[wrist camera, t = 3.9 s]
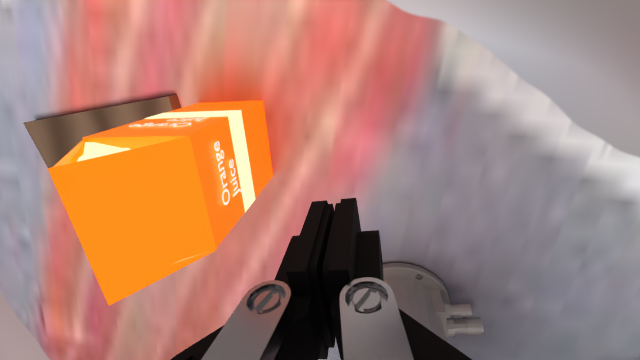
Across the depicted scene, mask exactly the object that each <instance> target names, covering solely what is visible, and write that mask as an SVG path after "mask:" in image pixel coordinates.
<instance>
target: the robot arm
mask: <svg viewBox="0 0 640 360" xmlns="http://www.w3.org/2000/svg"><path fill="white" fill-rule="evenodd" d="M452 316H472V309H471V305H470V304H450V299H449V295H448V293H447V290H446V288H445V286H444V285H443V283H442V282H441V281H440V280H439V279H438V278H437V277H436V276H435V275H434V274H432V273H431V272H429V271H428V270H426V269H423V268H421V267H419V266H415V265H411V264H405V263H388V264H383V263H382V253H381V244H380V236H379V230H378V231H363V232H361V228H360V221H359V214H358V207H357V201H356V198H350V199H341V203H336V206H335V210H334V208H333V204H328V202H327V201H316V202H312V203H311V206H310V209H309V211H308V214H307V217H306V220H305V222H304V225H303V228H302V230H301V233H300V236H293V237H292V238H291V241H290V243H289V246H288V248H287V250H286V253H285V255H284V258H283V260H282V263H281V265H280V268H279V270H278V273H277V275H276V278H275V280H270V281H266V282H262V283H260V284H258V285H256V286H254V287H253V288H252V289H250V290H249V291H248V292H247V294H246V295H245V296H244V297H243V299H242V300H241V302H240V303H239V305H238V306H237V308H236V309H235V311H234V312H233V314H232V315H231V316H230V318H229V319H228V321H227V322H226V324H225V325H224V326H222V327H220V328H219V329H217V330H216V331H214V332H213V333H211V334H209V335H208V336H206V337H205V338H203V339H201V340H200V341H198V342H197V343H195V344H193V345H192V346H190V347H189V348H187V349H185V350H184V351H182V352H181V353H179V354H178V355H176V356H175V357H174V358H172V359H171V360H318V359H327V356H328V349H329V347H334V345H335V337H336V340H337V345H338V349H339V354H340V358H341V360H471V359H470V358H469V357H467V356H466V355H464V354H463V353H462V352H460V351H459V350H457V349H456V348H454V347H453V346H452V345H450V344H449V343H448V342H447V337H455V334H467V335H483V334H484V329H483V324H482V321H481V318H480V317H463V318H452Z"/></svg>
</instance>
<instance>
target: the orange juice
mask: <svg viewBox="0 0 640 360" xmlns="http://www.w3.org/2000/svg"><path fill="white" fill-rule="evenodd" d="M82 139H83V140H82V141H81V142H80V143H79V144H78V145H77V146H76V147H74V148H73V149H72V150H71V151H70V152H69V153H68V154H67V155H66V156H65V157H63V158H62V159H61V160H60V161H59V162H58V163H57V164H56V165H55V166H53V167H52V168H48V170H49V173H50V175H51V177H52V179H53V182H54V184H55V186H56V188H57V191H58V193H59V195H60V197H61V200H62V202H63V204H64V206H65V208H66V211H67V213H68V215H69V217H70V220H71V222H72V224H73V226H74V229H75V231H76V233H77V235H78V238H79V240H80V242H81V244H82V247H83V249H84V251H85V253H86V256H87V258H88V260H89V262H90V265H91V267H92V269H93V271H94V273H95V276H96V278H97V280H98V282H99V285H100V287H101V289H102V291H103V294H104V296H105V298H106V300H107V303H108V305H111V304H113V303H115V302H117V301H119V300H121V299H123V298H125V297H127V296H129V295H131V294H133V293H134V292H136V291H138V290H140V289H142V288H144V287H146V286H148V285H150V284H152V283H154V282H156V281H158V280H160V279H162V278H163V277H165V276H167V275H169V274H171V273H173V272H175V271H177V270H179V269H181V268H183V267H185V266H187V265H189V264H191V263H193V262H194V261H196V260H198V259H200V258H202V257H204V256H206V255H208V254H210V253H212V252H214V251H216V248H217V247H218V246H219V244H220V243H221V242H222V240H223V239H224V238H225V237H226V235H227V234H228V233H229V232H230V230H231V229H232V228H233V226H234V225H235V224H236V223H237V221H238V220H239V219H240V217H241V216H242V215H243V214H244V212H246V211H247V209H248V208H249V207H250V206H251V204H252V203H253V202H254V201H255V198H256V197H257V196H258V194H259V193H260V192H261V191H262V189H263V188H264V187H265V186H266V184H267V183H268V182H269V180H270V179H271V178H272V177H273V172H272V164H271V156H270V149H269V141H268V133H267V126H266V118H265V110H264V103H263V100H258V101H233V102H208V103H196V104H193V105H190V106H186V107H183V108H180V109H176V110H173V111H170V112H166V113H161V114H158V115H154V116H151V117H148V118H144V119H143V120H140V121H136V122H133V123H130V124H126V125H123V126H120V127H116V128H113V129H110V130H106V131H103V132H100V133H96V134H93V135H90V136H86V137H83V138H82Z"/></svg>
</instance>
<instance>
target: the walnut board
mask: <svg viewBox="0 0 640 360" xmlns="http://www.w3.org/2000/svg"><path fill="white" fill-rule="evenodd" d="M180 108H181V106H180V104H179V101H178V98H177V95H171V96H165V97H160V98H154V99H149V100H144V101H138V102H133V103H127V104H122V105H116V106H111V107H105V108H100V109H95V110H89V111H84V112H78V113H73V114H67V115H62V116H56V117H51V118H46V119H40V120H35V121H30V122H25V123H24V125H25V127H26V129H27V130H28V132H29V134H30V136H31V138H32V140H33V141H34V143H35V145H36V147H37V149H38V150H39V152H40V154H41V156H42V158H43V160H44V161H45V163H46V165H47V167H48V168H52V167H53V166H55V165H56V164H57V163H58V162H59V161H60V160H61V159H62V158H63V157H65V156H66V155H67V154H68V153H69V152H70V151H71V150H72V149H73V148H74V147H76V146H77V145H78V144H79V143H80V142H81V141H82V140H83V139H82V138H83V137H86V136H90V135H93V134H96V133H100V132H103V131H106V130H110V129H113V128H116V127H120V126H123V125H126V124H130V123H133V122H136V121H140V120H143V119H144V118H148V117H151V116H154V115H158V114H161V113H166V112H170V111H173V110H176V109H180Z"/></svg>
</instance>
